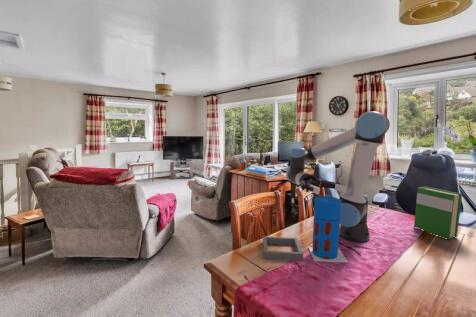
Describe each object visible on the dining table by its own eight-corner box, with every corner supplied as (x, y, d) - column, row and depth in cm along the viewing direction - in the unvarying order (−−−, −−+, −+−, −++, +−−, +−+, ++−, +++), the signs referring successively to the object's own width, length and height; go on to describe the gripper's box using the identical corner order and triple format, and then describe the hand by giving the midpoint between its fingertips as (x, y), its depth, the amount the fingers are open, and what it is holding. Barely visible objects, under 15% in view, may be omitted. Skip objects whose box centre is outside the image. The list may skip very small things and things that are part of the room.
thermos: (339, 261, 109) (343, 203, 106) (313, 257, 112) (316, 201, 109) (335, 249, 120) (338, 196, 117) (311, 246, 122) (314, 195, 119)
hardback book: (456, 238, 137) (462, 193, 134) (448, 240, 134) (453, 195, 131) (421, 226, 153) (425, 186, 150) (413, 228, 150) (417, 187, 147)
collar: (296, 243, 127) (297, 237, 126) (302, 260, 110) (303, 254, 110) (263, 242, 128) (263, 236, 127) (264, 258, 111) (264, 252, 111)
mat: (338, 249, 121) (338, 248, 121) (347, 262, 109) (347, 261, 109) (308, 248, 122) (308, 246, 122) (314, 260, 110) (314, 259, 110)
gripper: (326, 186, 134) (355, 198, 113) (283, 188, 127) (305, 200, 107) (327, 172, 133) (357, 181, 112) (284, 173, 126) (306, 182, 106)
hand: (332, 190), depth 110 cm, fingers open, 12 cm apart
